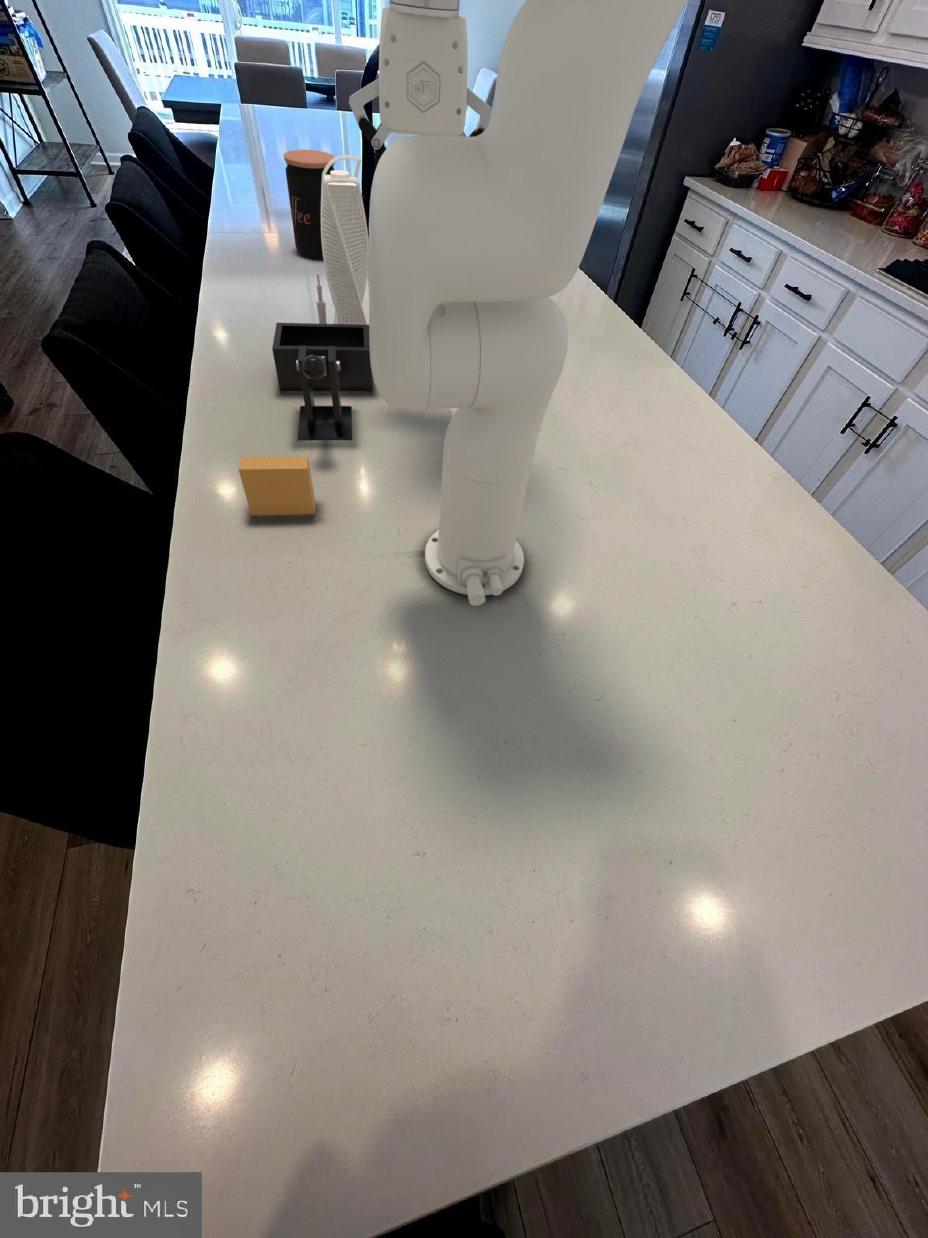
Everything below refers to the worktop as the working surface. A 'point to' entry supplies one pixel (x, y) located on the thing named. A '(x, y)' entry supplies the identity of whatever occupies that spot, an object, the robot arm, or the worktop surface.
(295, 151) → the coffee jar
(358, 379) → the black open box
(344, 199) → the skyscraper
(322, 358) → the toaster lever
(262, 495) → the orange square tile
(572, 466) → the worktop surface
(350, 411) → the lever bracket
